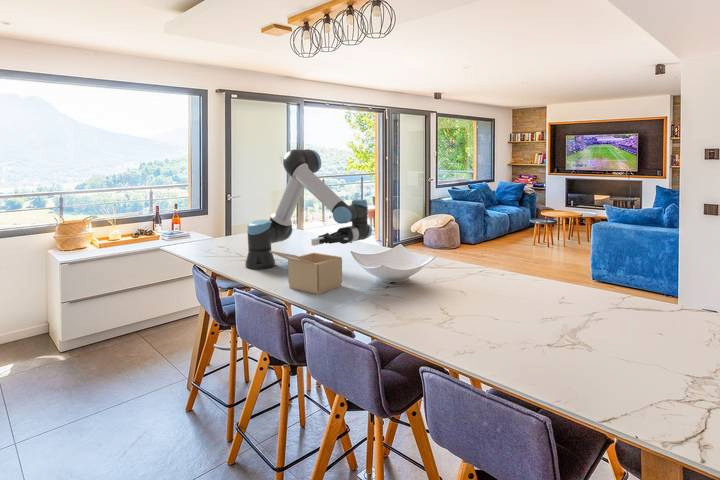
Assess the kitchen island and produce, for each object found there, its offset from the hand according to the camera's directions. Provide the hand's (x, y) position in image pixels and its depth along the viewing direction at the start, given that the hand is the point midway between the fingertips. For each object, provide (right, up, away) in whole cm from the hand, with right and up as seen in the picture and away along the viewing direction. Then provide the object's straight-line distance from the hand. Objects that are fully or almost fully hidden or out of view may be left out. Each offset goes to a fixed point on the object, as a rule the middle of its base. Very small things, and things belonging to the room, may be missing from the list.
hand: (312, 242), depth 202 cm
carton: (+1, -20, +4) cm, 20 cm away
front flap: (-4, -8, -5) cm, 10 cm away
